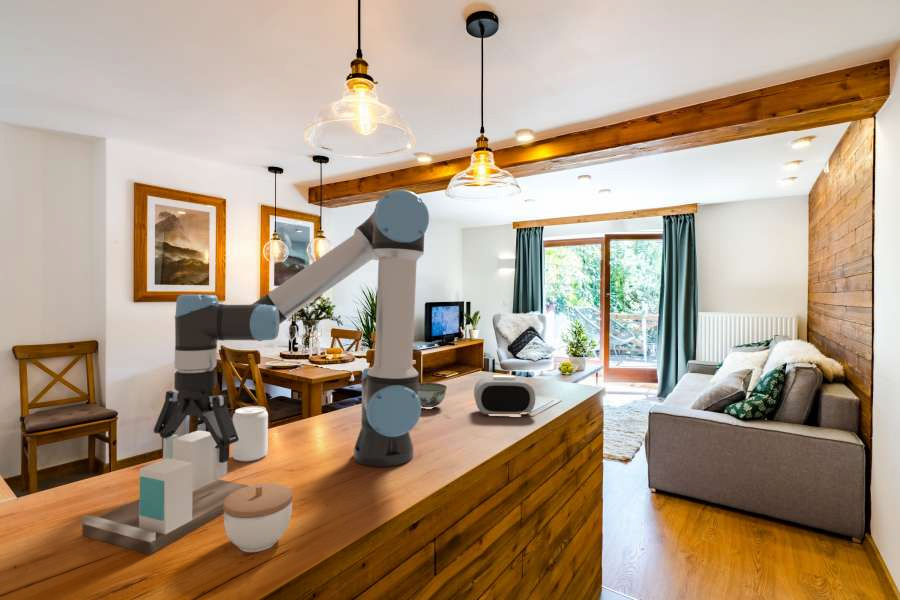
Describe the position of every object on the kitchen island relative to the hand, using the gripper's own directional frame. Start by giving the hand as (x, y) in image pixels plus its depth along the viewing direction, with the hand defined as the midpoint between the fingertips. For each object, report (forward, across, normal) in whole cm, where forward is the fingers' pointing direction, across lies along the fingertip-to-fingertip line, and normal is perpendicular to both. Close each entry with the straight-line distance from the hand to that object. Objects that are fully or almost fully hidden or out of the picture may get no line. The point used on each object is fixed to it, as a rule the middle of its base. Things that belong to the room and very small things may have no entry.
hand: (194, 472), depth 92 cm
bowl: (+4, -18, -84) cm, 86 cm away
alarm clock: (+4, -46, -86) cm, 97 cm away
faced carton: (+2, -9, +14) cm, 16 cm away
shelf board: (+4, -4, +7) cm, 10 cm away
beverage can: (+5, +5, -21) cm, 22 cm away
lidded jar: (+5, -25, +10) cm, 27 cm away
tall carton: (+2, 0, 0) cm, 2 cm away
